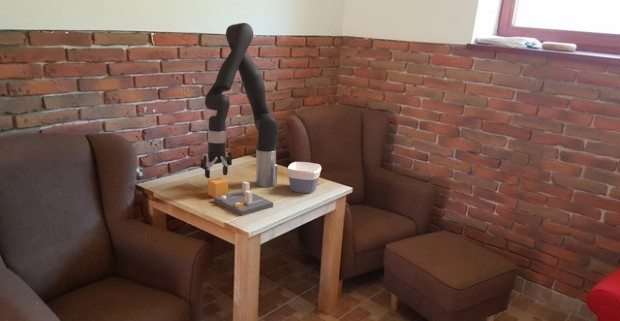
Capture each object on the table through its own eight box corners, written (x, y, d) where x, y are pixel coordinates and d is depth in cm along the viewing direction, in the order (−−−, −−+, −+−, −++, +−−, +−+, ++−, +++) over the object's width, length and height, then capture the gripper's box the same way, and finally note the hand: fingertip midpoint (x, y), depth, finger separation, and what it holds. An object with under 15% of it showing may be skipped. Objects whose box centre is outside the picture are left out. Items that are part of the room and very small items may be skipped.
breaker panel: (244, 193, 206) (244, 185, 205) (273, 206, 192) (273, 197, 191) (213, 201, 195) (213, 192, 194) (241, 215, 181) (241, 206, 180)
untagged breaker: (246, 192, 202) (246, 180, 200) (251, 194, 199) (251, 182, 198) (240, 193, 200) (240, 182, 198) (245, 195, 197) (245, 184, 196)
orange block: (220, 191, 207) (220, 177, 206) (228, 195, 203) (228, 181, 201) (207, 194, 203) (207, 180, 201) (215, 198, 199) (215, 183, 197)
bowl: (322, 186, 221) (323, 163, 218) (315, 196, 207) (317, 172, 204) (292, 182, 225) (292, 160, 222) (283, 192, 210) (283, 169, 207)
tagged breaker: (248, 201, 191) (249, 189, 189) (253, 203, 189) (254, 191, 187) (243, 203, 189) (243, 191, 187) (248, 205, 186) (248, 193, 185)
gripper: (226, 137, 204) (225, 171, 208) (197, 140, 195) (197, 176, 199) (235, 140, 199) (234, 176, 203) (206, 144, 189) (206, 181, 194)
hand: (216, 176), depth 201 cm, fingers open, 8 cm apart
